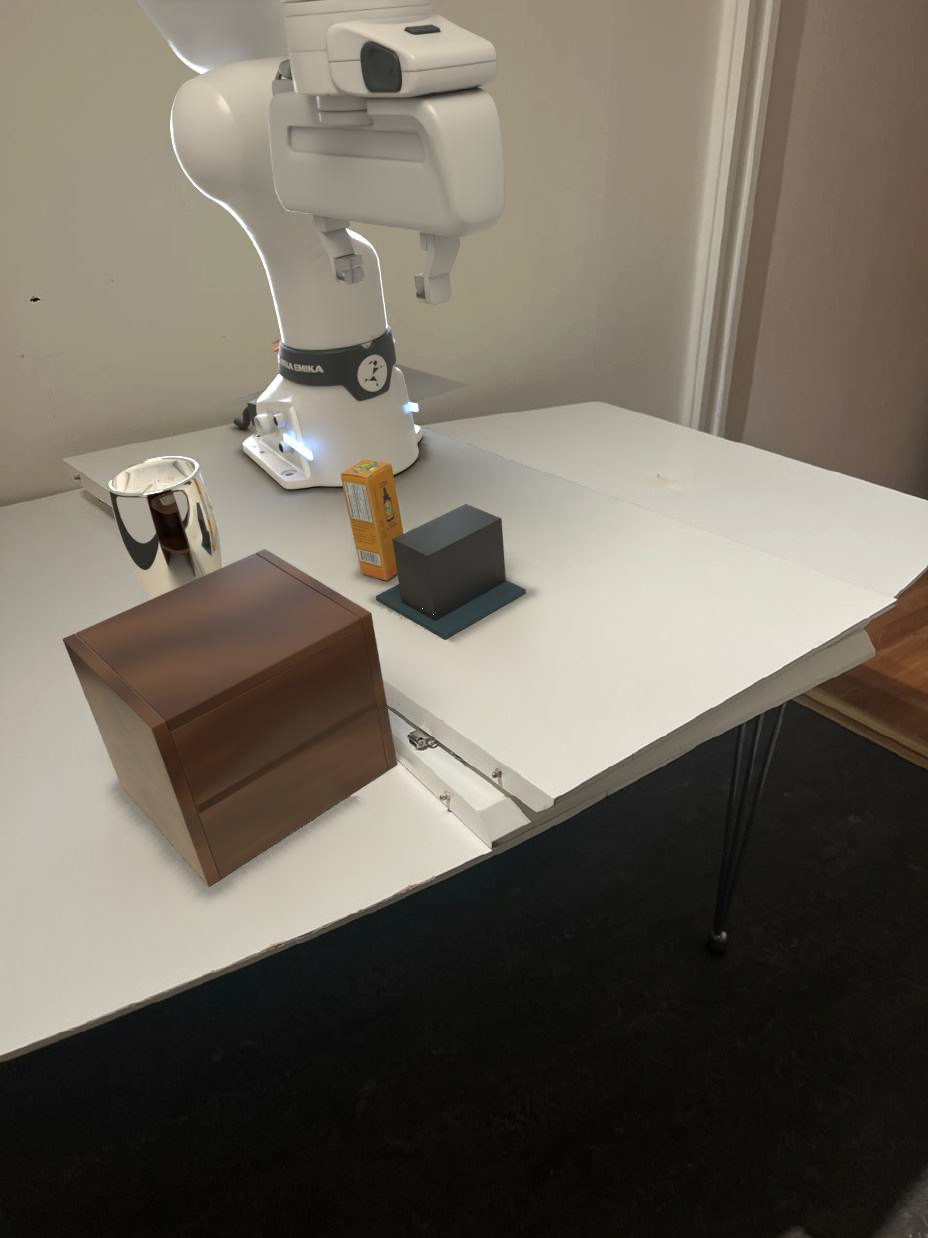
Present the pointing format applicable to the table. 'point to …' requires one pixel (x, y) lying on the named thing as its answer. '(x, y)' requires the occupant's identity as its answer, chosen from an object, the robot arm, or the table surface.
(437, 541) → the dark gray rectangular box
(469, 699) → the table surface
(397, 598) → the pad
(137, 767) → the wooden drawer unit
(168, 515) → the silver metal tumbler
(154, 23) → the robot arm
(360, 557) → the supplement box
